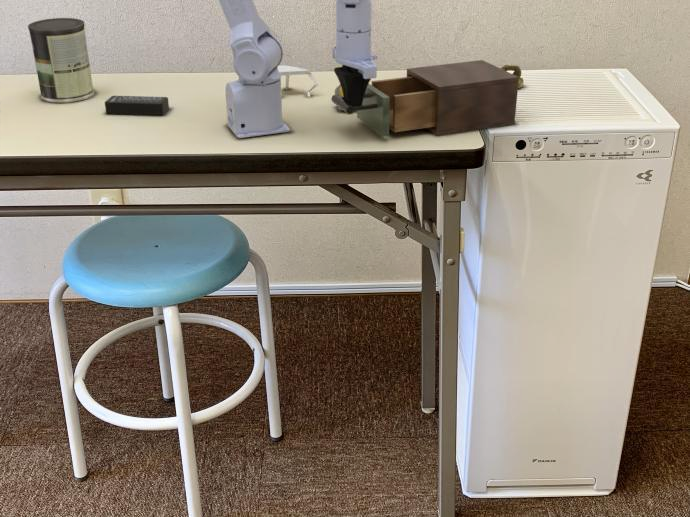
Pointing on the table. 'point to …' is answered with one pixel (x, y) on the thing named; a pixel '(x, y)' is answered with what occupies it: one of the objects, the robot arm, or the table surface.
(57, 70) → the coffee can
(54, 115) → the table surface
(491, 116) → the cabinet
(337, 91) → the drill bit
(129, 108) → the multiport hub
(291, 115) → the table surface
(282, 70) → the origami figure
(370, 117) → the drawer
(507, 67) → the seal
